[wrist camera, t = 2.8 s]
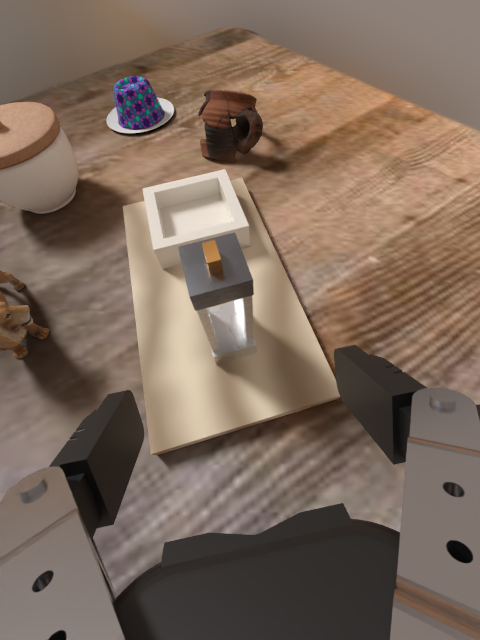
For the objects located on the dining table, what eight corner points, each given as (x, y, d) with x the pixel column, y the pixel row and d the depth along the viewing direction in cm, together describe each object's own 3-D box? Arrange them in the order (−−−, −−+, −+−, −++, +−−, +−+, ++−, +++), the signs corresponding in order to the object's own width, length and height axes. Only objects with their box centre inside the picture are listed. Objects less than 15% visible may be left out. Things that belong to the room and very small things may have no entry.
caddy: (162, 269, 30) (153, 249, 28) (151, 209, 35) (142, 188, 33) (249, 246, 31) (249, 225, 29) (227, 191, 36) (225, 169, 33)
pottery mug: (185, 155, 44) (186, 88, 40) (231, 158, 50) (235, 100, 45) (236, 164, 37) (243, 84, 33) (282, 167, 43) (293, 99, 38)
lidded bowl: (112, 179, 41) (66, 90, 32) (52, 238, 36) (-24, 153, 26) (50, 162, 44) (-9, 76, 35) (-13, 214, 39) (-103, 130, 30)
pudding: (140, 96, 54) (129, 61, 49) (188, 110, 50) (181, 73, 45) (94, 127, 49) (77, 92, 45) (144, 145, 46) (131, 108, 41)
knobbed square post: (216, 364, 25) (186, 292, 15) (204, 319, 27) (172, 230, 17) (256, 352, 25) (254, 274, 15) (242, 309, 27) (231, 215, 17)
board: (157, 455, 23) (150, 454, 22) (127, 215, 37) (122, 206, 36) (338, 398, 24) (342, 394, 23) (242, 187, 38) (241, 177, 37)
